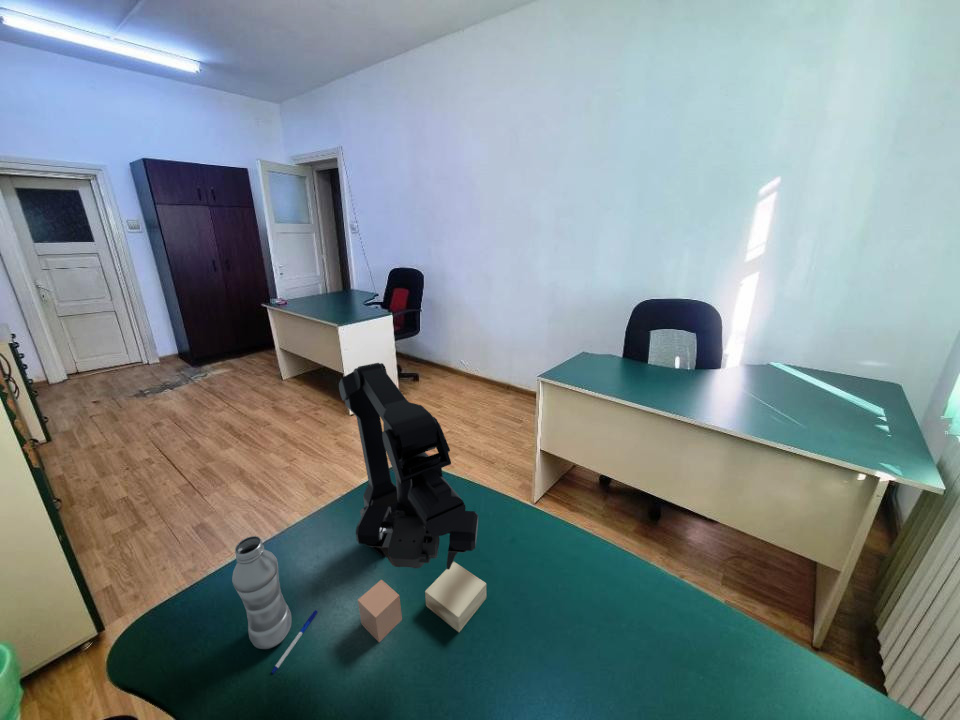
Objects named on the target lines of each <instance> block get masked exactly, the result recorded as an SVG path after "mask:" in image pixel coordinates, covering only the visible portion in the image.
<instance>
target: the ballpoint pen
mask: <svg viewBox="0 0 960 720" xmlns="http://www.w3.org/2000/svg"><path fill="white" fill-rule="evenodd" d="M317 614H318V610H316V609H314V611H313V612H312V613H311V614H310V615H309V617H308V618H307V620H306V621H305V623H304V624H303V626H302V627H301V628H300V630H299V632H298V634H297V635H296V636H295V637H294V639H293V640H292V642H291V643H290V644H289V646H288V647H287V649H286V650H285V651H284V653H283V654H282V656H281V657H280V658H279V660H278V661H277V662H276V664H275V665H274V666H273V668H272V671H271V673H270V674H275V673H276V671H278V669H279V668H280V666H281V665H282V664H283V663H284V661H285V659H286V658H287V657H288V655H289V654H290V652H291V651H292V650H293V648H294V647H295V645H296V643H297V642H298V641H299V640H300V639H301V637H302V635H303V634H304V633H305V632H306V630H307V629H308V627H309V626H310V625H311V623H312V622H313V620H314V619H315V618H316V616H317Z"/></svg>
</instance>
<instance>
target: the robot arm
mask: <svg viewBox="0 0 960 720" xmlns="http://www.w3.org/2000/svg"><path fill="white" fill-rule="evenodd" d="M387 372H388V371H387V368H386V366H385V364H384V363H382V362H381V363H380V362H375V363H369V364H364V365H359V366H358V367H357V368H354V369H353V371H352V372H350V373H348V374H346V375H344V376H343V377H341V379H340V381H339V383H338V389H339V394H340V398H341V400H342V401H343V402H344V403H345V407H347V408H348V409H349V410H350V411H351V413H352V414H353V415H354V416H355V417H356V421H357V427H358V432H359V438H360V443H361V449H362V452H363V460H364V463H365V470H366V474H367V481H368V484H367V487H366V488H365V491H364V493H363V496H362V497H363V498H362V499H363V504H364V505H363V506H364V507H362V508H361V509H360V510H359V513H360V514H359V515H360V519H359V521H358V523H357V525H356V528H355V538H356V541H357V543H358V544H359V545H365V546H366V547H370V548H371V549H372V550H374V551H375V552H376V553H377V554H379V555H380V556H381V557H383V558H385V557H386V559H388V561H389V563H390V564H391V566H392V567H395V568H411V569H419V568H422V567H423V566H424V564H430V562H431V561H430V560H431V559H437V558H438V553H439V546H440V537H441V536H446V535H448V534H449V542H448V543H449V544H448V549H447V559H446V569H450V567H451V565H452V563H453V562H454V560H455V558H456V555H457V554H458V553H466V552H467V551H468V552H473V551H474V550H475V549H476V547H477V536H478V528H479V526H478V525H479V514H478V513H477V512H476V511H474V510H466V509H467V508H466V504H465V502H464V500H463V498H461V496H459V494H458V493H457V491H455V489H454V488H453V486H451V485H450V484H449V482H448V481H447V480H446V479H445V477H444V475H443V468H446V467H447V466H448V467H449V466H450V465H452V461H451V457H450V455H449V452H450V451H451V449H450V446H449V444H448V441H447V439H446V436H445V434H444V431H443V428H442V426H441V424H440V423H439V421H438V419H437V418H436V417H435V416H433V414H431V412H430V411H428V409H426V408H425V407H424V406H423V405H421V404H418V403H414V402H410V401H409V400H407V398H406V396H405V395H404V394H403V393H402V391H401V390H400V389H399V387H398V386H397V385H396V384H395V383H394V381H393V380H392V378H391V377H390V376H389V375H388V373H387ZM381 420H382V421H381ZM382 422H383V423H382ZM382 424H383V426H382ZM435 449H436V450H437V452H436V453H434V454H431V455H429V454H427V453H426V452H429V451H432V450H435ZM389 463H390V465H391V467H392V470H393V472H394V476H395V484H394V482H393V480H392V477H391V472H390V467H389Z"/></svg>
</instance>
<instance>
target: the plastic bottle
mask: <svg viewBox="0 0 960 720" xmlns="http://www.w3.org/2000/svg"><path fill="white" fill-rule="evenodd" d="M234 554H235V559H236V562H237V563H236V564H235V567H234V569H233V571H232V578H231V579H232V580H231V581H232V584H233V588H234V589H235V590H236V592H237V594H238V596H239V597H240V599H241V601H242V603H243V606H244V608H245V611H246V617H247V622H248V623H247V625H248V626H247V629H248V630H247V632H248V638H249V640H250V643H252V645H253V646H254V647H255V648H256V649H260V650H270V649H272V648H274V647H276V646H278V645H279V644H280V643H282V642H283V641H284V640H285V638H286V636H287V635H288V633H290V630H291V628H292V612H291V610H290V607H289V605H288V604H287V602H286V600H285V598H284V596H283V594H282V593H283V592H282V590H281V584H280V576H279V575H280V574H279V563H278V558H277V557H276V556H275V554H274V553H273V552H271V551H270V550H267V549H265V546H264V543H263V540H262V538H260V536H257V535H252V536H248V537H245V538H244V539H241V540H240V541H239V542H238V543H237V544H236V546H235V549H234Z"/></svg>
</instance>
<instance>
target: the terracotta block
mask: <svg viewBox="0 0 960 720" xmlns="http://www.w3.org/2000/svg"><path fill="white" fill-rule="evenodd" d="M357 605H358V609H359V617H360V622H361V626H363V628H365V629H366V631H367V632H368V633H370V635H371V636H372V637H373V638H374V639H375V640H376V641H377V642H378V643H380V642H381V641H382V640H383V639H385V637H386V636H388V634H389V633H391V631H393V629H394V628H395V627H396V626H397V625H398V624H399V623H400V622H402V620H403V616H402V608H401V599H400V594H398V593H397V592H396V591H395V590H394V589H393V588H392V587H390V585H388V584H387V583H386V582H385V581H384V580H383V579H380V580H379V581H377V583H375V584H374V585H373V586H372V587H371V588H369V589H368V591H366V592H365V593H364V594H362V595H361V596H360V597H359V598H358V599H357Z"/></svg>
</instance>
